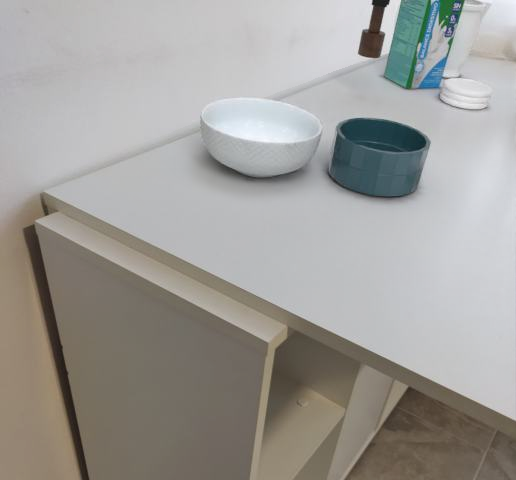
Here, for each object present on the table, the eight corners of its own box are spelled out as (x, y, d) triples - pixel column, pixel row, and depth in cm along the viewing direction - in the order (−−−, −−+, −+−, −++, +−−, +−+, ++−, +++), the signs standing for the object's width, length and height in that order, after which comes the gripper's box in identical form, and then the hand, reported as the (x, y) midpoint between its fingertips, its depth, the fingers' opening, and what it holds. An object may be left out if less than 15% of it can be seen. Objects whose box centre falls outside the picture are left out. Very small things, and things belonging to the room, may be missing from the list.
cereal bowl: (204, 191, 71) (205, 138, 66) (195, 142, 83) (196, 94, 78) (327, 193, 74) (336, 142, 69) (301, 145, 86) (308, 99, 81)
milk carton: (406, 89, 116) (443, -54, 99) (383, 76, 122) (414, -60, 105) (439, 87, 119) (480, -51, 103) (415, 75, 125) (450, -58, 109)
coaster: (432, 101, 111) (437, 83, 109) (447, 91, 118) (452, 74, 115) (479, 114, 108) (486, 95, 105) (492, 103, 114) (498, 85, 112)
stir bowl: (421, 172, 83) (434, 129, 78) (411, 207, 73) (425, 161, 69) (338, 153, 85) (346, 111, 81) (318, 185, 75) (326, 140, 71)
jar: (461, 83, 124) (485, 8, 114) (417, 74, 126) (437, -1, 116) (465, 72, 132) (488, 1, 122) (423, 64, 134) (442, -7, 124)
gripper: (400, -171, 89) (367, -5, 105) (386, -180, 78) (352, 7, 94) (445, -166, 88) (405, 2, 103) (438, -175, 77) (394, 14, 92)
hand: (380, 4), depth 98 cm, fingers closed on pestle, 2 cm apart
